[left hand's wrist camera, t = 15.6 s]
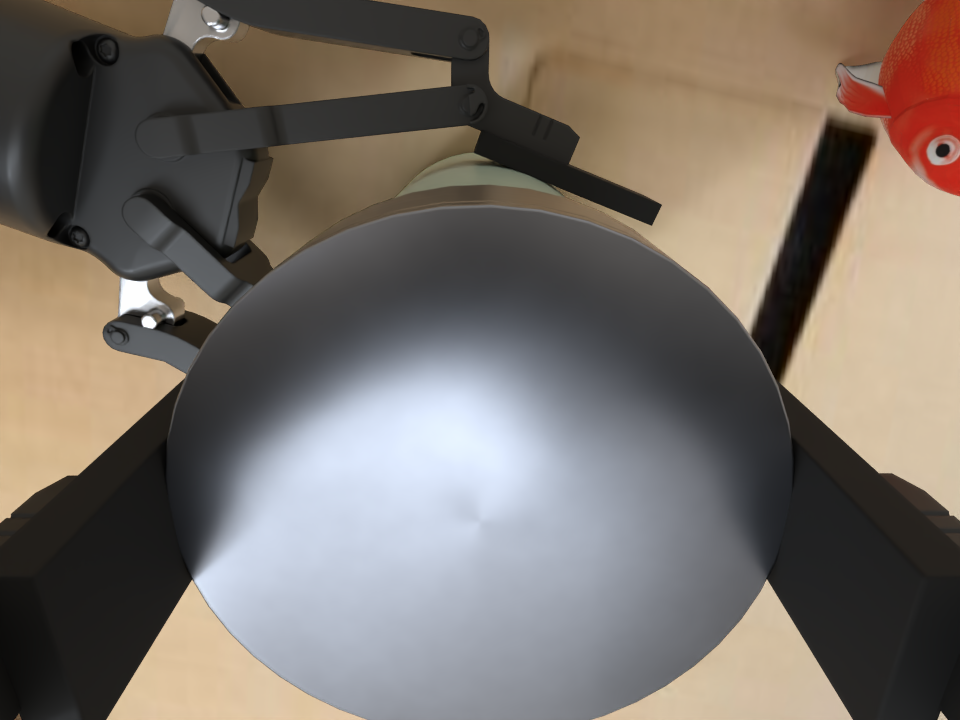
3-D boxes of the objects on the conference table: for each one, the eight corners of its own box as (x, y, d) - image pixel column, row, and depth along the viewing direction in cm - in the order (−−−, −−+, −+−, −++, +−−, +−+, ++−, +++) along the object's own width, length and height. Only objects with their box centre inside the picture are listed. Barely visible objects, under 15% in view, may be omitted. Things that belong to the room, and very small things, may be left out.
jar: (343, 239, 29) (105, 462, 11) (495, 107, 27) (527, 98, 8) (467, 377, 31) (448, 748, 13) (614, 267, 29) (836, 526, 11)
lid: (547, 698, 15) (559, 803, 13) (147, 514, 13) (76, 599, 11) (846, 370, 12) (934, 433, 9) (376, 59, 10) (344, 43, 7)
